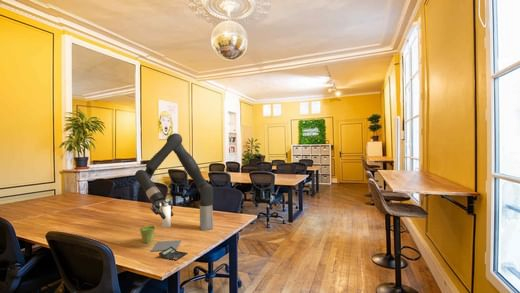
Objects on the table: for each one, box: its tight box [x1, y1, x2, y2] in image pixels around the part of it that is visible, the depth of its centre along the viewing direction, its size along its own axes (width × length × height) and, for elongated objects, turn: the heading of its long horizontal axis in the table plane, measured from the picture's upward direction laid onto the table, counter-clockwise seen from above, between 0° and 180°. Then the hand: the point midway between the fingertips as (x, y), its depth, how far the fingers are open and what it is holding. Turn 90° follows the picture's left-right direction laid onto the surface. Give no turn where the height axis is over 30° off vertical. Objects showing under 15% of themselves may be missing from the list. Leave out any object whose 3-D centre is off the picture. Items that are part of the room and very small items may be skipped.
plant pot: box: [139, 225, 157, 244], centre depth 154 cm, size 9×9×9 cm
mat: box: [150, 239, 182, 253], centre depth 146 cm, size 14×14×1 cm
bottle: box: [161, 203, 172, 228], centre depth 146 cm, size 5×5×14 cm
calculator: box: [158, 246, 188, 262], centre depth 133 cm, size 9×12×3 cm
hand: (168, 217), depth 145 cm, fingers closed on bottle, 5 cm apart
